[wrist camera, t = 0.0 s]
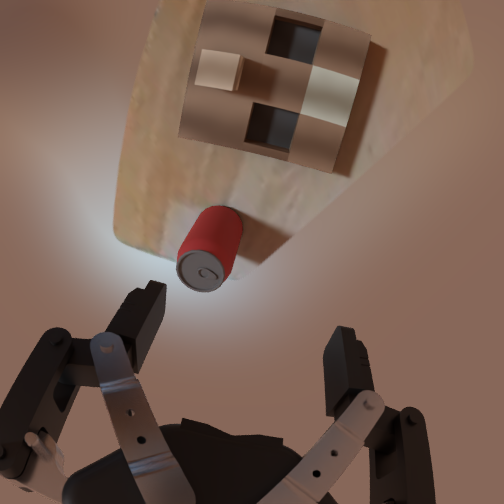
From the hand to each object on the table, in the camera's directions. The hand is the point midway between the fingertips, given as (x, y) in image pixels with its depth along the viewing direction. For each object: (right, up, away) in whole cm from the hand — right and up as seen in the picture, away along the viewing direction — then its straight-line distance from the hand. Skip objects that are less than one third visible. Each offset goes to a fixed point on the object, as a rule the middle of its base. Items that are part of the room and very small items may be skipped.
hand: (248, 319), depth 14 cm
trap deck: (+3, +24, +20) cm, 31 cm away
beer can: (-4, +7, +31) cm, 32 cm away
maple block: (-3, +23, +17) cm, 29 cm away
